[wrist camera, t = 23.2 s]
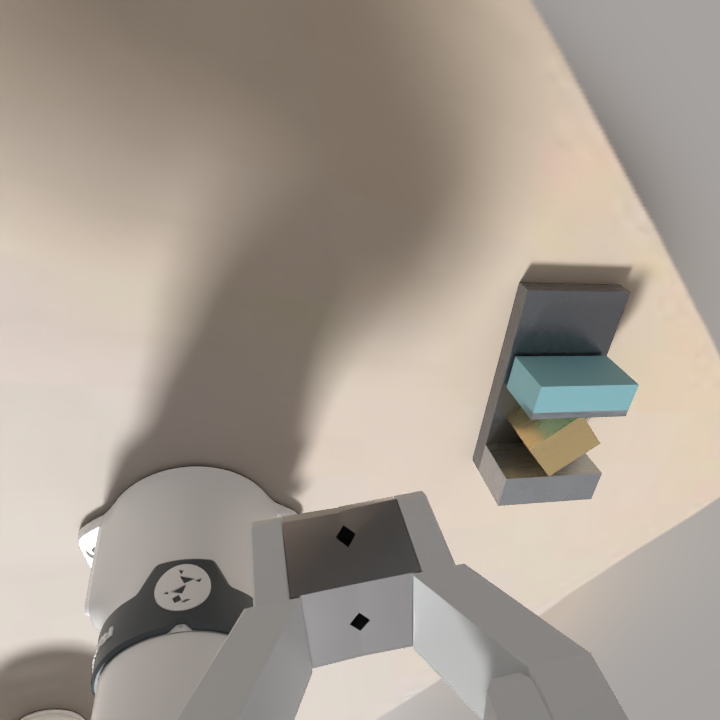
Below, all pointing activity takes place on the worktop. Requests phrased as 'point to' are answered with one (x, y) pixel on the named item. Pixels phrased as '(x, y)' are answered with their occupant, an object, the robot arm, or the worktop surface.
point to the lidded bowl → (53, 715)
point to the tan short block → (553, 439)
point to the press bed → (497, 436)
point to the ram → (570, 387)
